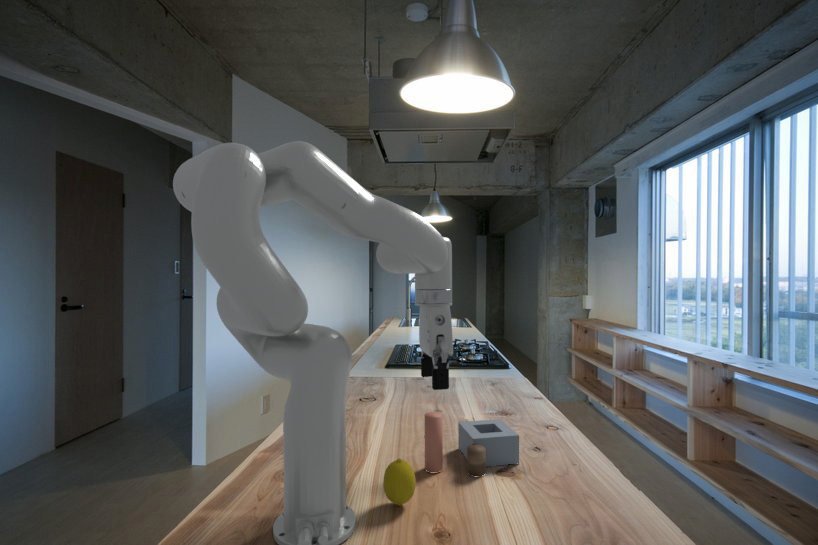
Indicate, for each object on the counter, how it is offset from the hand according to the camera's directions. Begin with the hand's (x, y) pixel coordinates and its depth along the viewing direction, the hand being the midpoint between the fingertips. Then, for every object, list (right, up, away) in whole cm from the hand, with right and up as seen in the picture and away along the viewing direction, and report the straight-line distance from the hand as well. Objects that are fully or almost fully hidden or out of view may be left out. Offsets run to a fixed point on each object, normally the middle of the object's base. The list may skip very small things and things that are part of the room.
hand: (434, 382), depth 88 cm
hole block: (+12, -18, +6) cm, 22 cm away
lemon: (-7, -18, -14) cm, 23 cm away
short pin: (+8, -18, -2) cm, 19 cm away
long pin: (0, -18, 0) cm, 18 cm away
